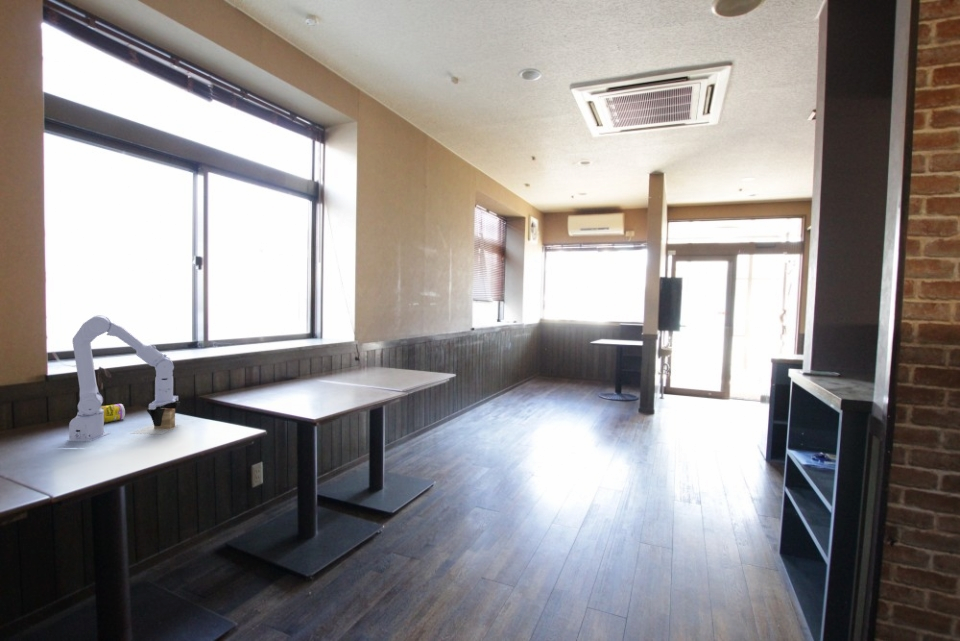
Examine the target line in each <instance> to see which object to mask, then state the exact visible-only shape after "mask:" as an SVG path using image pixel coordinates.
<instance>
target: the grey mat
mask: <svg viewBox="0 0 960 641" xmlns="http://www.w3.org/2000/svg"><path fill="white" fill-rule="evenodd" d="M180 426H181V424H175V427H173V428H171V429H154V424H152V423H151V424H150V425H148V426H145V427H142V428H140V429H137V430H136V431H133V432H131V433H130V435H131V434H133V435H138V434H139V435H163V434H165V433H168V432H169V431H172V430H174V429H176V428H178V427H180Z"/></svg>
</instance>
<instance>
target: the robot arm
mask: <svg viewBox="0 0 960 641" xmlns="http://www.w3.org/2000/svg"><path fill="white" fill-rule="evenodd" d="M105 333H107V334H106V336H110V337H116V338H118V339H119V340H121V341H123V343H126V344H127V345H128V346H130V347H131V348H132V349H133V350H135V351H136V356H137V357H138V358H139V359H141V360H142V361H143V362H145V364H148V366H150V367H154V369H155V375H156V376H155V379H154V380H155V382H154V383H155V384H154V400H153V401H152V402H150V403H149V404H148V407H147V408H146V412H147V413H148V414H149V415H150V416H149V417H150V418H151V421H152V423H153V424H154V426H161V423H162V416H163V413H164V410H165V409H161V407H164V408H171V409H175V414H176V412H177V410H178V408H179V407H180V405H181V401H179V395H174V376H173V374H174V372H173V371H174V369H175V365H174V363H173V361H172V359H171V358H170V357H167V356H168V355H166V353H164V354H163V353H162V352H161V351H160V350H158V349H157V347H156V345H154V344H153V345H152V344H150V343H147V344H146V343H143V342H141V341H140V340H139V339H138V338H136V337H135V336H134V335H133V334H131V333H130V332H129V331H128V330H126V329H125V327H123V326H122V325H120V324H118V323H116V322H115V321H114V320H111V319H110V318H109V317H107V316H104V315H94V316H93V317H91V318H89V319H87V320H86V321H85V322H83V323H82V325H81V326H80V328H79V329H78V330H77V332H76V333H75V335H74V336H73V338H72V346H73V354H74V360H75V366H76V372H77V373H76V374H77V379H78V385H79V386H78V387H79V402H77V403H78V404H77V414H76V416H75V417H74V418H72V419H71V420H70V421H69V424H68V432H69V434H68V437H69V438H67V439H66V442H92V441H94V440H97V439H100V438H102V437H105V436H107V435H110V434H111V432H109V431H108V432H107V431H106V432H104V431H105V429H104V428H105V427H104V426H105V423H104V410H103V409H101V406H102V404H103V402H104V398H103V396H102V394H101V393H100V392H99V387H98V385H97V379H96V372H95V366H94V358H93V357H94V356H93V352H92V345H91V344H92V342H93V341H94V340H95V339H96V338H98V337H100V336H101V335H103V334H105Z"/></svg>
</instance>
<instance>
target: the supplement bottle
mask: <svg viewBox="0 0 960 641" xmlns="http://www.w3.org/2000/svg"><path fill="white" fill-rule="evenodd" d="M101 409H103V410H104V424H105V423H111V422H117V421H121V420H123V419H124V418H125V417H126V416H125V415H126V410H125V406H124V404H122V403H117V404H110V405H101Z"/></svg>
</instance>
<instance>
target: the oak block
mask: <svg viewBox="0 0 960 641" xmlns="http://www.w3.org/2000/svg"><path fill="white" fill-rule="evenodd" d="M160 408H161V407H160ZM161 409H165V410H164V413H163V416H162V423H161V426H154V429H171V428H173V427H175V425H176V413H175V409H171V408H165V407H164V408H163V407H162V408H161Z"/></svg>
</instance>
